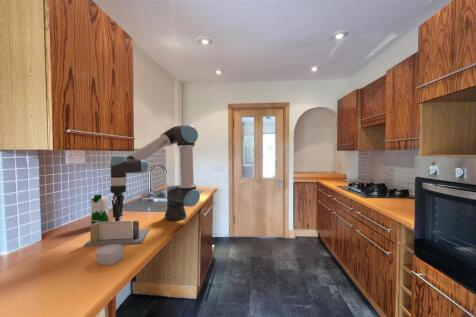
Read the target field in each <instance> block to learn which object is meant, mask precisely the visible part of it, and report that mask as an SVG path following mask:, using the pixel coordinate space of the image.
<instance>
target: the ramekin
mask: <svg viewBox="0 0 476 317" xmlns="http://www.w3.org/2000/svg"><path fill="white" fill-rule="evenodd" d="M124 251H125V246H124V244H123V245H120V244H110V245H104V246H99V247H98V248H96V250H95V252H94V253H95V256H96V263H98V264H99V265H100V266H110V265H111V266H112V265H116V264H118V263H119V262H121V261H122V259H123V257H124Z"/></svg>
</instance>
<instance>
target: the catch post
mask: <svg viewBox="0 0 476 317" xmlns="http://www.w3.org/2000/svg"><path fill="white" fill-rule="evenodd" d="M89 229H90V232H89V233H90V236H89V238H90V239H89V240H90V242H91V243H97V242H98V241H99V224H91V223H90V226H89Z"/></svg>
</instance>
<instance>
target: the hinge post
mask: <svg viewBox="0 0 476 317" xmlns="http://www.w3.org/2000/svg"><path fill="white" fill-rule="evenodd" d="M139 229H140V220H133V221H132V230H133V239H138V238H139Z"/></svg>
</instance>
